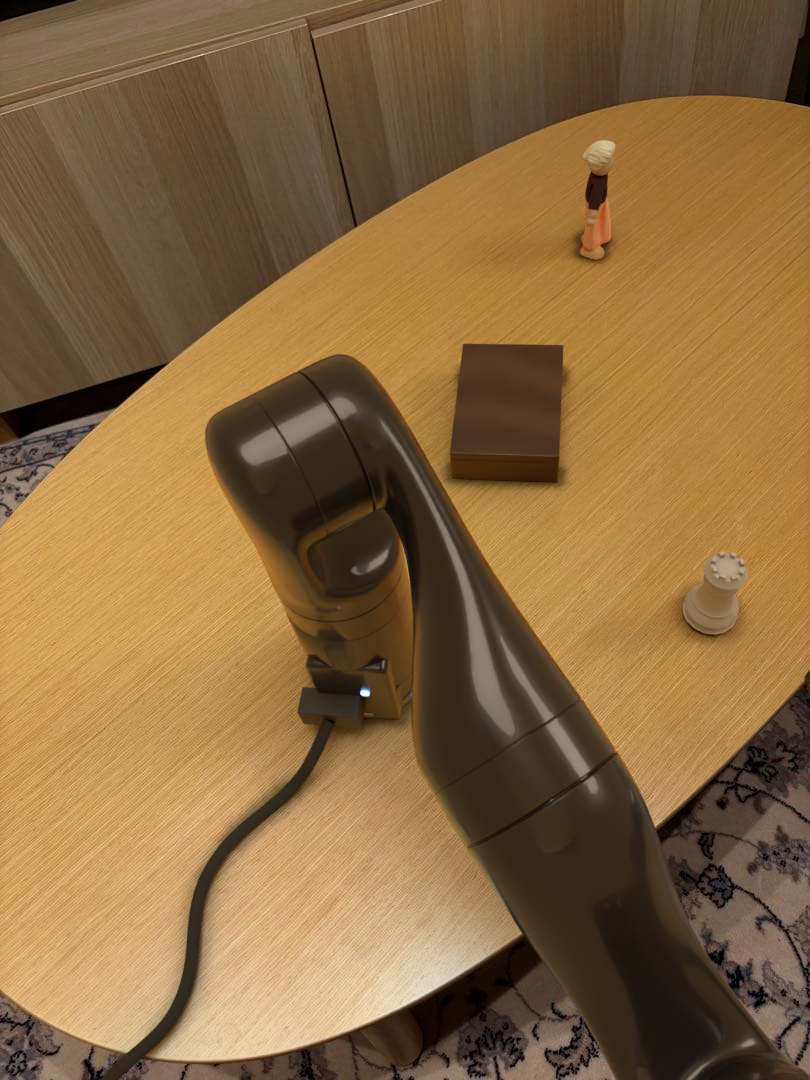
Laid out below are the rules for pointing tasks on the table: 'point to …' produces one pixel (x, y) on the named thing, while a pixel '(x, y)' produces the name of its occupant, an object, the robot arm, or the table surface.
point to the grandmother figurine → (597, 199)
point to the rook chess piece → (716, 594)
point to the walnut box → (508, 413)
